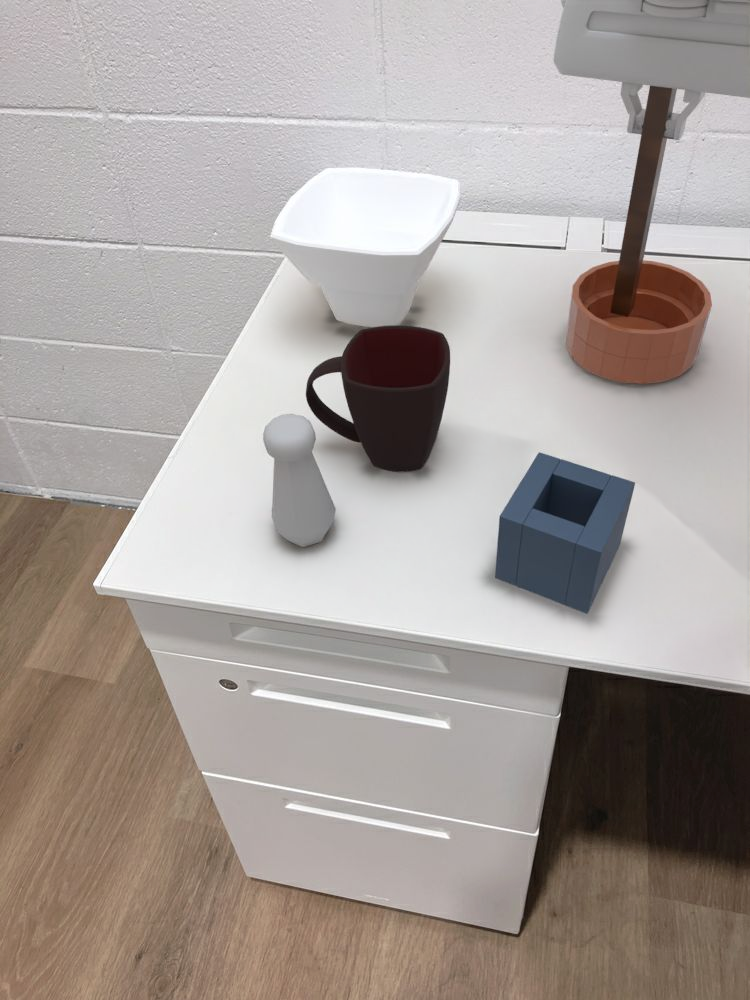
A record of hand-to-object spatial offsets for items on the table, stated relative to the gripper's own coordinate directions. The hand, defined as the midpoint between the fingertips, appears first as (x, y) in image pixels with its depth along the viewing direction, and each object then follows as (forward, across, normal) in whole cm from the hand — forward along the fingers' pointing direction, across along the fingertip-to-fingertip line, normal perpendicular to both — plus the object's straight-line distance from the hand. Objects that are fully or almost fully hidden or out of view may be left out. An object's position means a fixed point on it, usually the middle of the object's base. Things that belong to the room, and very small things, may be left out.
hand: (654, 134), depth 75 cm
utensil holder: (+24, +6, -33) cm, 41 cm away
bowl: (+24, -28, -6) cm, 37 cm away
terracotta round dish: (+24, +2, 0) cm, 24 cm away
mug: (+24, -15, -28) cm, 39 cm away
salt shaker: (+24, -16, -40) cm, 49 cm away
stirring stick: (+19, 0, 0) cm, 19 cm away
